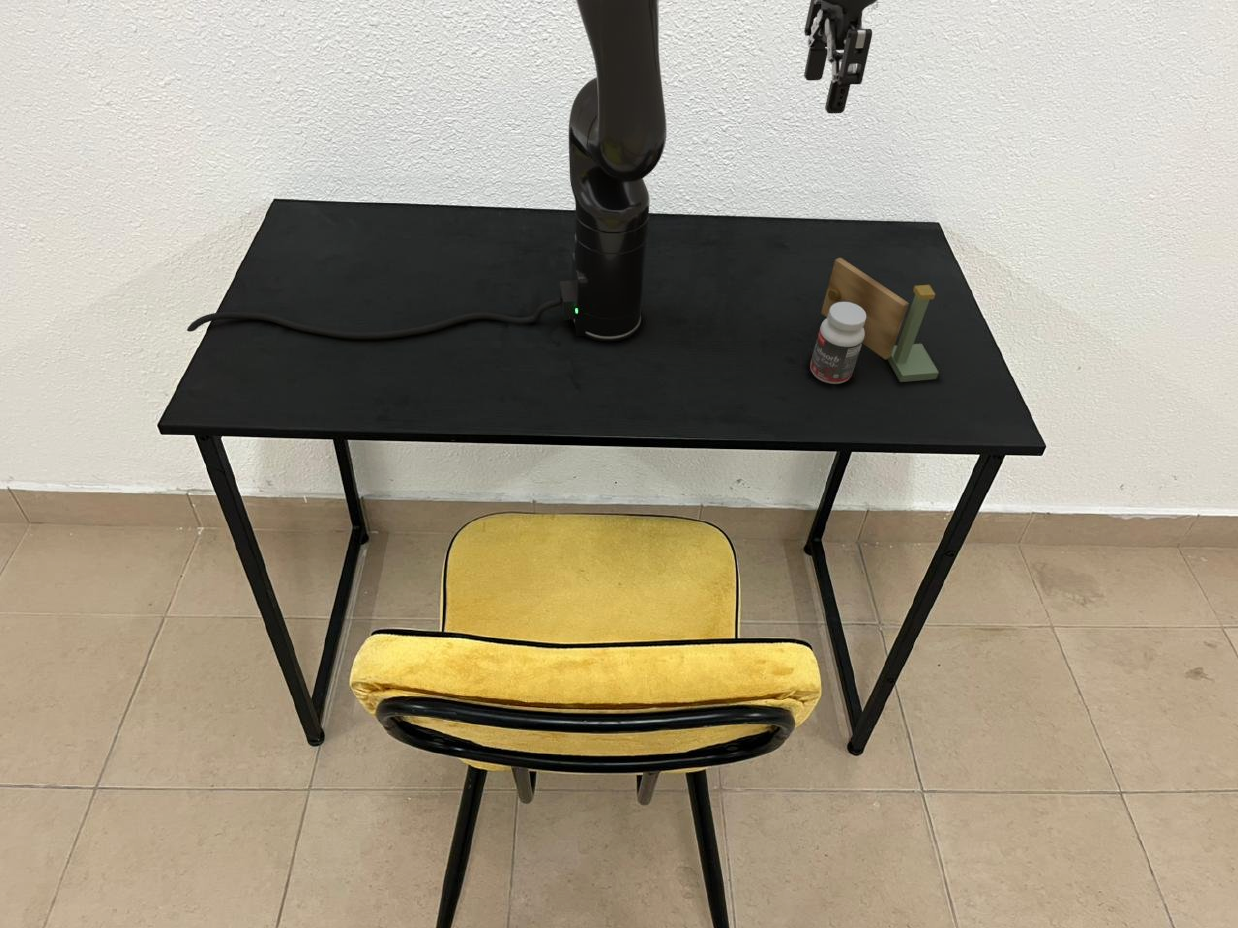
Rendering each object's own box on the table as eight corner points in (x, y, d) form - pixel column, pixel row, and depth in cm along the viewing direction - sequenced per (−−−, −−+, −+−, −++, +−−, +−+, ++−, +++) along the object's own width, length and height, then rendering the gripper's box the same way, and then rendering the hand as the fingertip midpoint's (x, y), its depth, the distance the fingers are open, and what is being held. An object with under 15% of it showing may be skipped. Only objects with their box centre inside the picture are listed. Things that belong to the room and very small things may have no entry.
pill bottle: (800, 368, 122) (815, 309, 115) (828, 351, 125) (845, 293, 118) (832, 391, 120) (850, 332, 112) (860, 374, 122) (879, 315, 115)
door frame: (898, 382, 121) (927, 305, 112) (882, 353, 125) (908, 276, 116) (936, 379, 122) (967, 302, 113) (919, 350, 126) (948, 273, 117)
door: (816, 315, 128) (830, 261, 121) (825, 310, 129) (840, 257, 122) (881, 362, 122) (899, 308, 115) (890, 357, 123) (909, 303, 116)
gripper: (802, -72, 104) (777, 70, 115) (843, -24, 94) (810, 125, 106) (865, -72, 105) (833, 68, 117) (911, -25, 95) (872, 123, 107)
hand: (823, 95), depth 111 cm, fingers open, 8 cm apart
